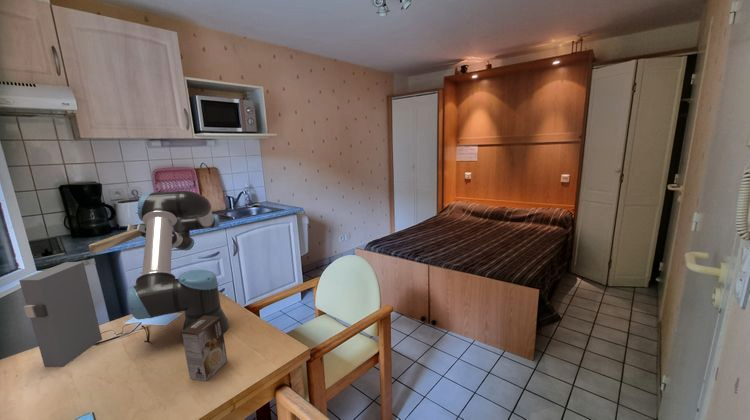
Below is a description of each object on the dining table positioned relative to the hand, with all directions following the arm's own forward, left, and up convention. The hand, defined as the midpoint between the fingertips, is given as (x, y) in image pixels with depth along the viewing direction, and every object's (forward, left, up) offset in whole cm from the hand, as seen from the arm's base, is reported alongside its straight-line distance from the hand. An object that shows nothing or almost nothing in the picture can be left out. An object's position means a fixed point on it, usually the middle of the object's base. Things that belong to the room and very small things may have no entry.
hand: (133, 227), depth 129 cm
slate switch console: (0, +34, -35) cm, 49 cm away
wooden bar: (0, +6, -4) cm, 8 cm away
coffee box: (-51, +42, -35) cm, 75 cm away
